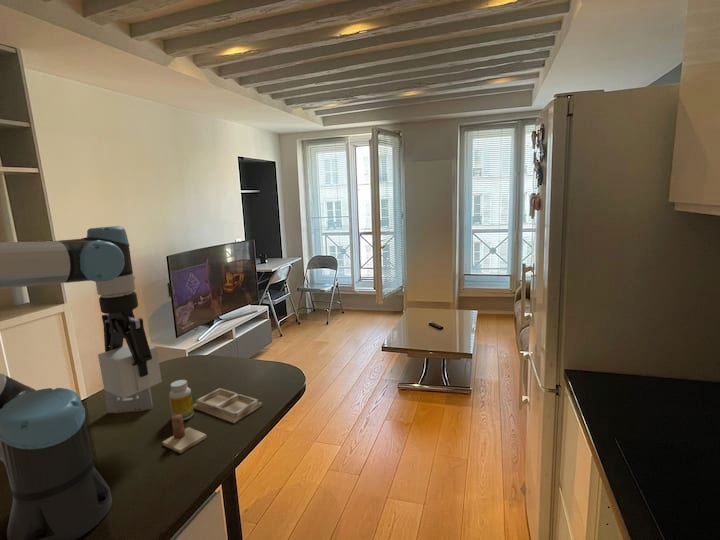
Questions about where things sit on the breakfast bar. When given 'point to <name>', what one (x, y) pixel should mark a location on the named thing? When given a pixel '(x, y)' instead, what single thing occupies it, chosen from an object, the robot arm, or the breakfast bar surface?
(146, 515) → the breakfast bar surface
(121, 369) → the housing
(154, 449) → the breakfast bar surface
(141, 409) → the cassette
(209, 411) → the beige divided tray
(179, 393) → the supplement bottle
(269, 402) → the breakfast bar surface
